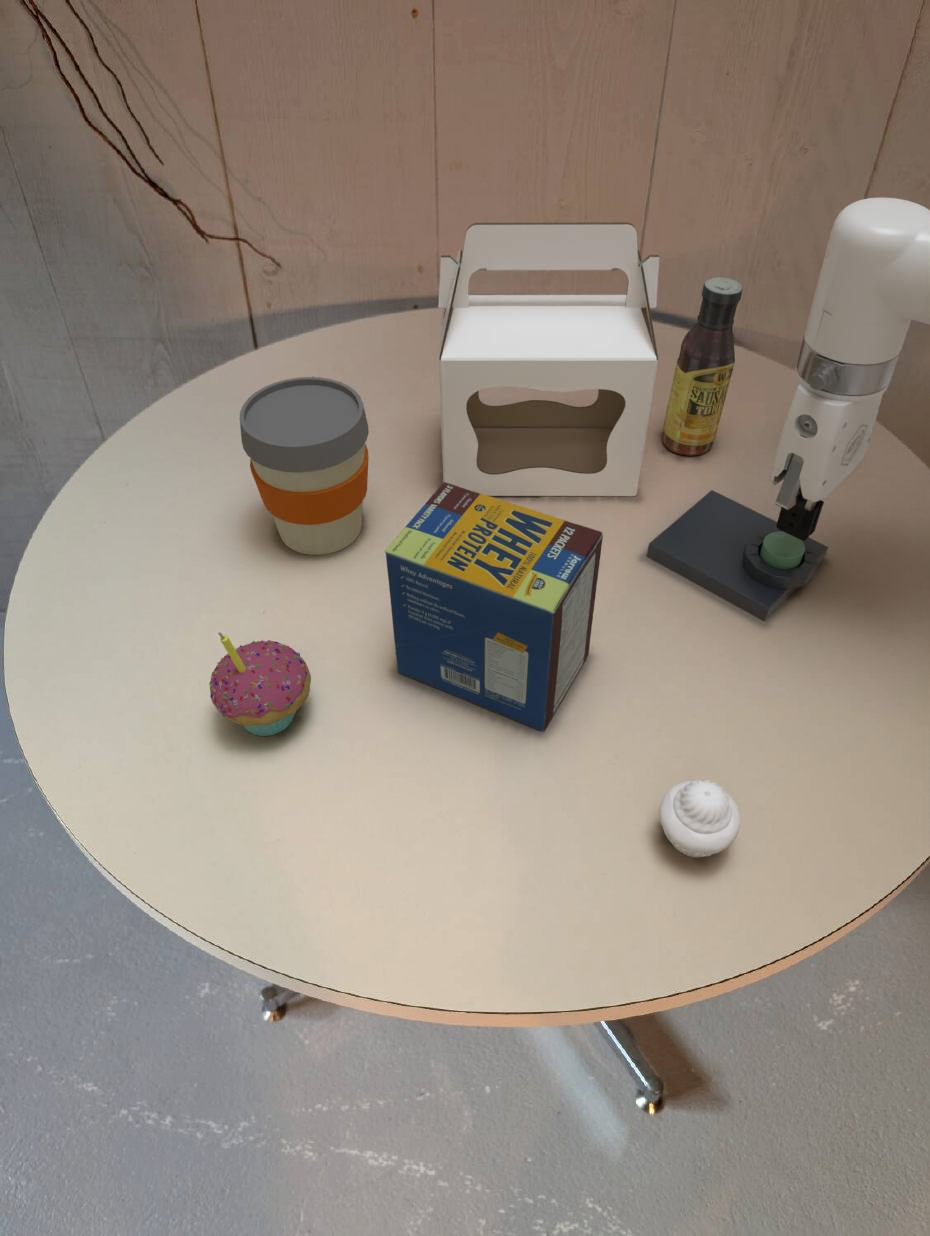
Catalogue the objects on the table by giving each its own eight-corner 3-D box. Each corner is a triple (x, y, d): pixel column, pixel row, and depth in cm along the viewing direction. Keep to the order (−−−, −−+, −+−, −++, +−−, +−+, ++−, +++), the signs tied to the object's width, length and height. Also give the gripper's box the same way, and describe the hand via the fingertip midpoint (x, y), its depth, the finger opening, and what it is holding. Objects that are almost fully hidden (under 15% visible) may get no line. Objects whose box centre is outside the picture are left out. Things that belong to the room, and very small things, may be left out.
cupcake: (242, 768, 78) (212, 679, 69) (206, 702, 83) (174, 611, 74) (332, 725, 81) (314, 634, 72) (292, 663, 86) (271, 571, 77)
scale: (832, 564, 94) (841, 539, 92) (773, 627, 88) (781, 601, 86) (708, 502, 101) (714, 477, 99) (646, 556, 95) (650, 531, 93)
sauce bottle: (679, 464, 106) (711, 305, 92) (650, 435, 110) (676, 279, 96) (726, 450, 108) (764, 292, 94) (696, 422, 112) (728, 267, 98)
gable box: (626, 429, 111) (659, 194, 91) (638, 497, 102) (678, 254, 82) (445, 428, 112) (438, 195, 91) (441, 497, 103) (432, 254, 82)
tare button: (808, 555, 91) (812, 543, 90) (788, 575, 89) (792, 564, 88) (772, 537, 93) (776, 525, 92) (752, 557, 91) (755, 545, 90)
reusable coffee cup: (266, 574, 94) (238, 456, 83) (260, 499, 103) (234, 383, 92) (386, 557, 96) (374, 439, 85) (370, 484, 104) (357, 368, 93)
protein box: (447, 602, 91) (442, 478, 80) (590, 655, 86) (606, 531, 75) (394, 673, 85) (381, 550, 74) (544, 735, 80) (555, 612, 68)
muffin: (746, 860, 71) (766, 813, 66) (676, 885, 70) (692, 838, 65) (705, 796, 75) (722, 747, 70) (639, 819, 74) (651, 770, 69)
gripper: (845, 417, 69) (790, 589, 83) (929, 341, 77) (866, 509, 90) (758, 383, 73) (719, 552, 86) (846, 313, 80) (797, 479, 94)
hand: (794, 530), depth 88 cm, fingers closed
